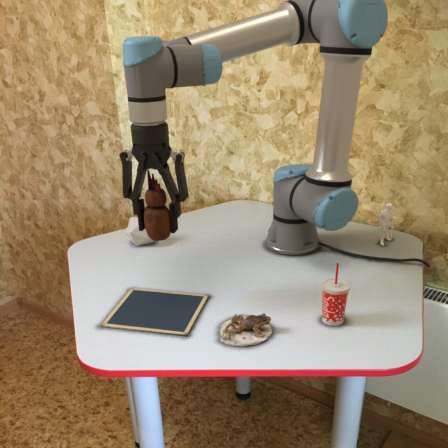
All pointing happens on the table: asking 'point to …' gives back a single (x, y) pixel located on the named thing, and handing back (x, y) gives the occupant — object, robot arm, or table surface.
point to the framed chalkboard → (156, 311)
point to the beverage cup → (334, 299)
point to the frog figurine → (245, 330)
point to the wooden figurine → (156, 211)
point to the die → (137, 233)
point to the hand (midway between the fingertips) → (158, 229)
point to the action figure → (385, 223)
